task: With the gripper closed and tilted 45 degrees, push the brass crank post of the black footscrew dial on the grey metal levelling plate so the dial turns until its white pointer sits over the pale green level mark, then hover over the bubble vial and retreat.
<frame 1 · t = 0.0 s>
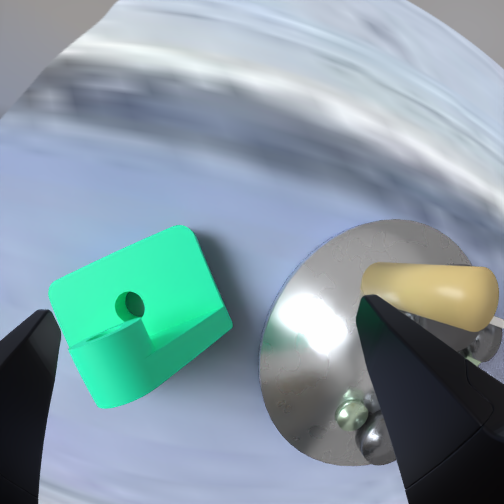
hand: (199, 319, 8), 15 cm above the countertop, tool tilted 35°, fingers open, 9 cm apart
footscrew dial: (484, 314, 18), point 7 cm above the countertop, hinge at 0.0°
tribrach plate: (388, 352, 24), on the countertop
camera mount: (140, 301, 23), on the countertop
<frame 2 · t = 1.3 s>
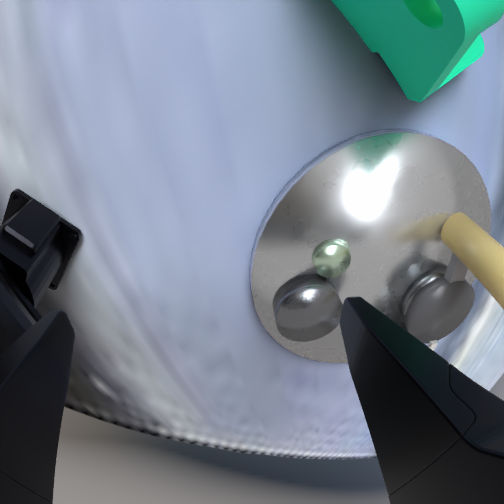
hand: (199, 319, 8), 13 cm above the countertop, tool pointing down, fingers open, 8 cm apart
footscrew dial: (462, 337, 21), point 7 cm above the countertop, hinge at 0.0°
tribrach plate: (384, 263, 25), on the countertop
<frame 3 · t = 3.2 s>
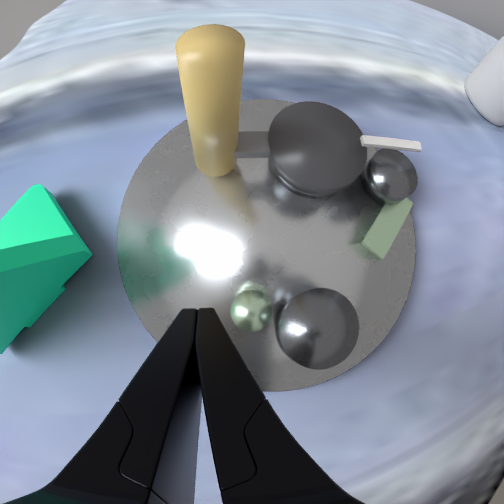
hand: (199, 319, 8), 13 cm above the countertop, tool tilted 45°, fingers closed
footscrew dial: (328, 115, 17), point 7 cm above the countertop, hinge at 0.0°
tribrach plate: (273, 232, 23), on the countertop
camera mount: (27, 272, 21), on the countertop
milk bottle: (484, 102, 29), on the countertop
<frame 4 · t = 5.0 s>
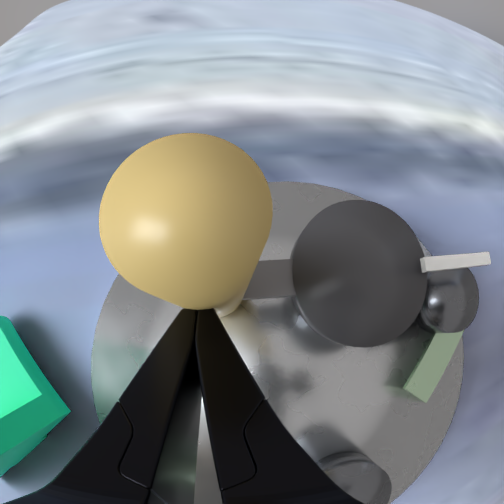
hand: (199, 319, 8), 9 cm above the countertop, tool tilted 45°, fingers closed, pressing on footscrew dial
footscrew dial: (393, 256, 11), point 7 cm above the countertop, hinge at -0.1°, touching gripper
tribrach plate: (294, 380, 16), on the countertop
camera mount: (1, 404, 15), on the countertop
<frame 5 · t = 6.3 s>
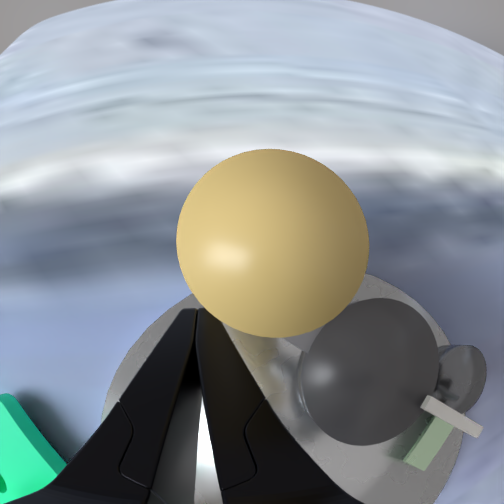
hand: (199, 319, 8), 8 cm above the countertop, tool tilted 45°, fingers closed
footscrew dial: (409, 382, 10), point 7 cm above the countertop, hinge at -37.5°, touching gripper
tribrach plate: (299, 457, 15), on the countertop
camera mount: (15, 467, 14), on the countertop
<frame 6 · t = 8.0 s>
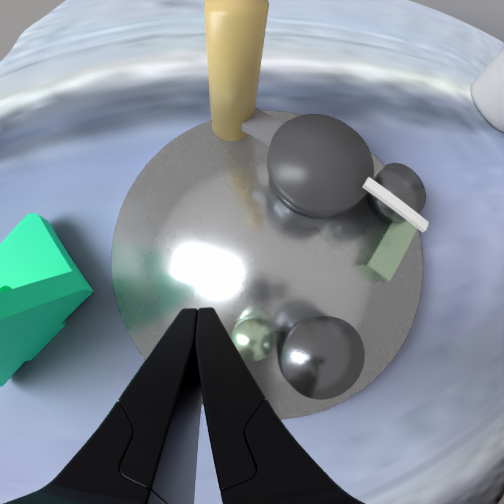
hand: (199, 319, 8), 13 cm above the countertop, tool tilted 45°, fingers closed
footscrew dial: (334, 129, 16), point 7 cm above the countertop, hinge at -37.5°
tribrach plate: (274, 254, 22), on the countertop
camera mount: (25, 303, 20), on the countertop
milk bottle: (490, 108, 28), on the countertop
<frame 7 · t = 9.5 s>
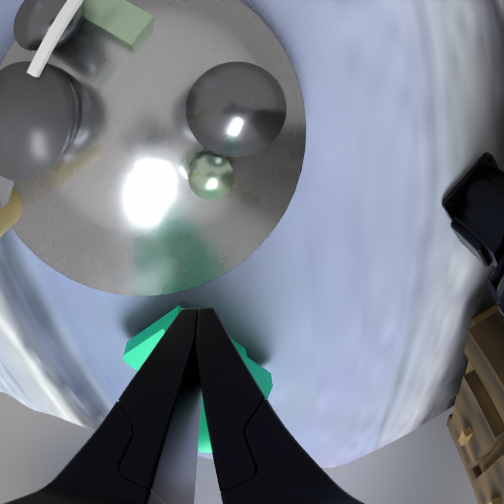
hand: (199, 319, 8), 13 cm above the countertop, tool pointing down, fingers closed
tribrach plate: (123, 144, 18), on the countertop
camera mount: (198, 351, 29), on the countertop
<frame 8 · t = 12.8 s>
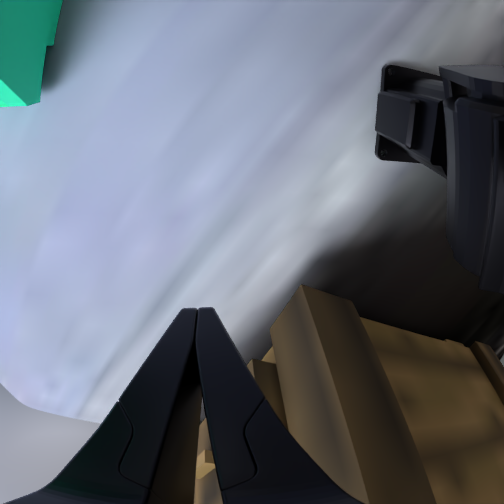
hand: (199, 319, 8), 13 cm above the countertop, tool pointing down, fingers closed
camera mount: (17, 19, 12), on the countertop
crate: (334, 396, 35), on the countertop
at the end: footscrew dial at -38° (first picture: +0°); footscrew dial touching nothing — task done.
